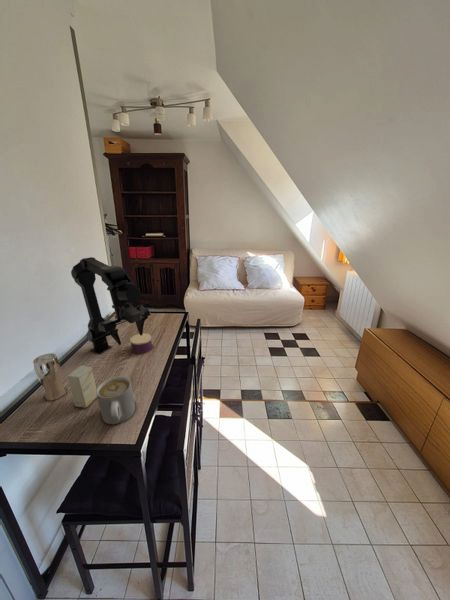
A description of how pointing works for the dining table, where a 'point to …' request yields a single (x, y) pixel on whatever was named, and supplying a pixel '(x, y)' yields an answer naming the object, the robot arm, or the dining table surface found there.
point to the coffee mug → (116, 400)
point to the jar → (141, 343)
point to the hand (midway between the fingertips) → (131, 340)
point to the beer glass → (49, 375)
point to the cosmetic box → (82, 386)
